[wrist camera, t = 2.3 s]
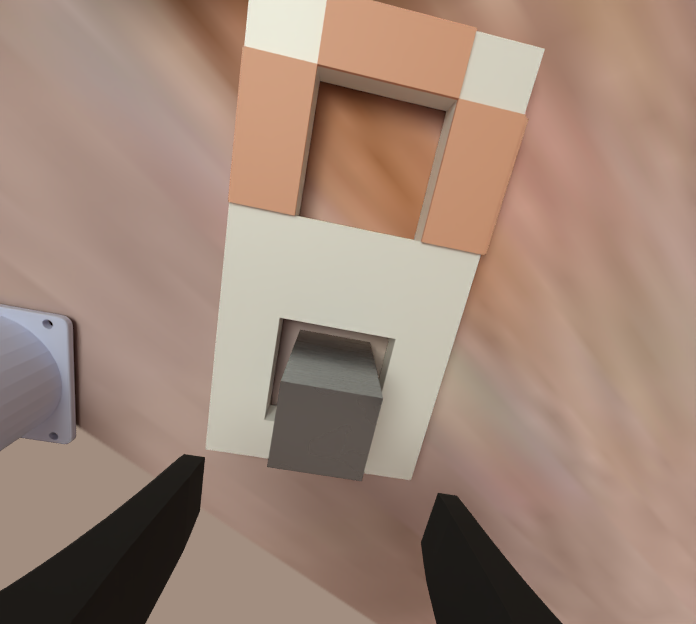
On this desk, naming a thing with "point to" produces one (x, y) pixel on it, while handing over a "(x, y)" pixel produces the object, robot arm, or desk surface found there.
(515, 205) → the desk surface
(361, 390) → the dark grey block
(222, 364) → the board with square holes
